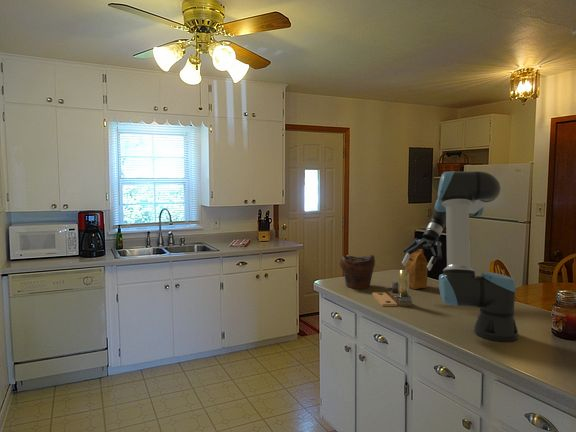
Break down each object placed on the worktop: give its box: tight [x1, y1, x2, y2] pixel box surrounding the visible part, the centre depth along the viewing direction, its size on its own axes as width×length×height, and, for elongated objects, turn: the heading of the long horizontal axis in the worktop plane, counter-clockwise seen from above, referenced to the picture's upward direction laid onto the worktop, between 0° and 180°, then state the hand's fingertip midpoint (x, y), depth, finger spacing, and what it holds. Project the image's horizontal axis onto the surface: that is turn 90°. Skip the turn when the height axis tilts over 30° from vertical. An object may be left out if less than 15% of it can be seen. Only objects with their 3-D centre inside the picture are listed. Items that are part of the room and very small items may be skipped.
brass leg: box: [394, 269, 412, 302], centre depth 201 cm, size 6×7×14 cm
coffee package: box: [404, 248, 429, 290], centre depth 234 cm, size 10×12×22 cm
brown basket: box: [339, 254, 376, 290], centre depth 235 cm, size 18×20×18 cm
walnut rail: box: [385, 281, 413, 307], centre depth 208 cm, size 20×8×7 cm, turn 2°
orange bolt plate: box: [371, 292, 398, 307], centre depth 208 cm, size 20×7×1 cm, turn 2°
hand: (415, 266), depth 207 cm, fingers open, 13 cm apart
